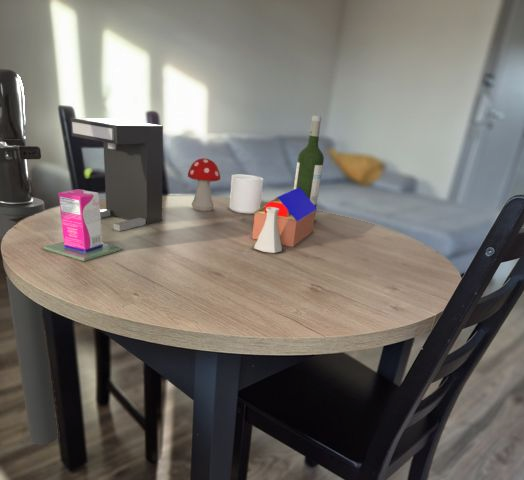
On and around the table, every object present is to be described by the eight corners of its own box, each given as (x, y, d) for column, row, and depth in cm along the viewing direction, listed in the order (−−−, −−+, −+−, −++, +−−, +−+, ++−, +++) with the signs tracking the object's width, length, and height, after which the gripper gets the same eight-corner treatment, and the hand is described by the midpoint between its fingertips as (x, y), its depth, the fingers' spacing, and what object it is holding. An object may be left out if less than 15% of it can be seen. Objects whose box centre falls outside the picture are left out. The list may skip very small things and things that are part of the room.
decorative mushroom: (186, 210, 147) (188, 158, 140) (186, 204, 154) (188, 154, 147) (219, 213, 149) (222, 162, 142) (217, 207, 156) (220, 158, 149)
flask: (259, 243, 124) (264, 203, 119) (286, 248, 122) (291, 208, 117) (249, 249, 118) (253, 208, 113) (276, 255, 116) (281, 213, 111)
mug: (255, 215, 152) (259, 181, 147) (225, 210, 153) (227, 176, 148) (264, 208, 163) (268, 176, 158) (236, 203, 164) (238, 172, 159)
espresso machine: (76, 220, 124) (68, 117, 113) (122, 210, 138) (119, 118, 127) (118, 231, 119) (114, 125, 108) (162, 220, 133) (163, 125, 122)
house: (313, 231, 141) (319, 190, 135) (293, 247, 124) (300, 201, 118) (274, 224, 144) (279, 183, 138) (250, 238, 127) (255, 192, 121)
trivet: (44, 249, 101) (44, 246, 101) (83, 239, 110) (83, 236, 110) (83, 261, 97) (83, 258, 97) (121, 250, 106) (120, 247, 106)
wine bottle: (292, 215, 158) (306, 114, 144) (316, 219, 156) (332, 117, 142) (287, 219, 151) (301, 114, 137) (311, 223, 150) (328, 117, 136)
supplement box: (81, 241, 107) (78, 188, 101) (103, 246, 105) (100, 192, 100) (62, 247, 102) (57, 191, 97) (85, 252, 100) (81, 196, 95)
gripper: (-60, 130, 76) (44, 133, 86) (-82, 119, 85) (14, 123, 95) (-50, 179, 80) (48, 176, 90) (-73, 164, 88) (20, 163, 99)
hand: (31, 149), depth 93 cm, fingers open, 8 cm apart
